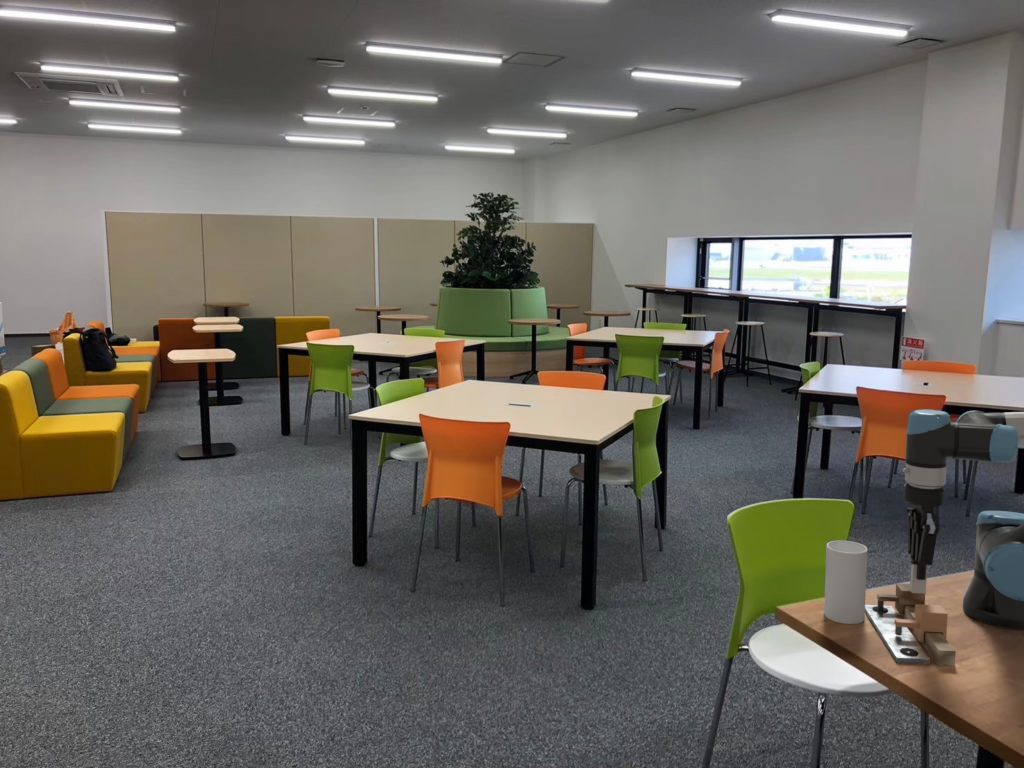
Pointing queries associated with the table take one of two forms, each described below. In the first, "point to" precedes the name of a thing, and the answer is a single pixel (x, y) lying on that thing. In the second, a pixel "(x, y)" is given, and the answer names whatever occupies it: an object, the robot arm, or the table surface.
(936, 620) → the block
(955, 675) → the table surface
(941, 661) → the beam
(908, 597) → the fixed leg
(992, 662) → the table surface
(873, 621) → the bolt strip
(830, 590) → the cup
